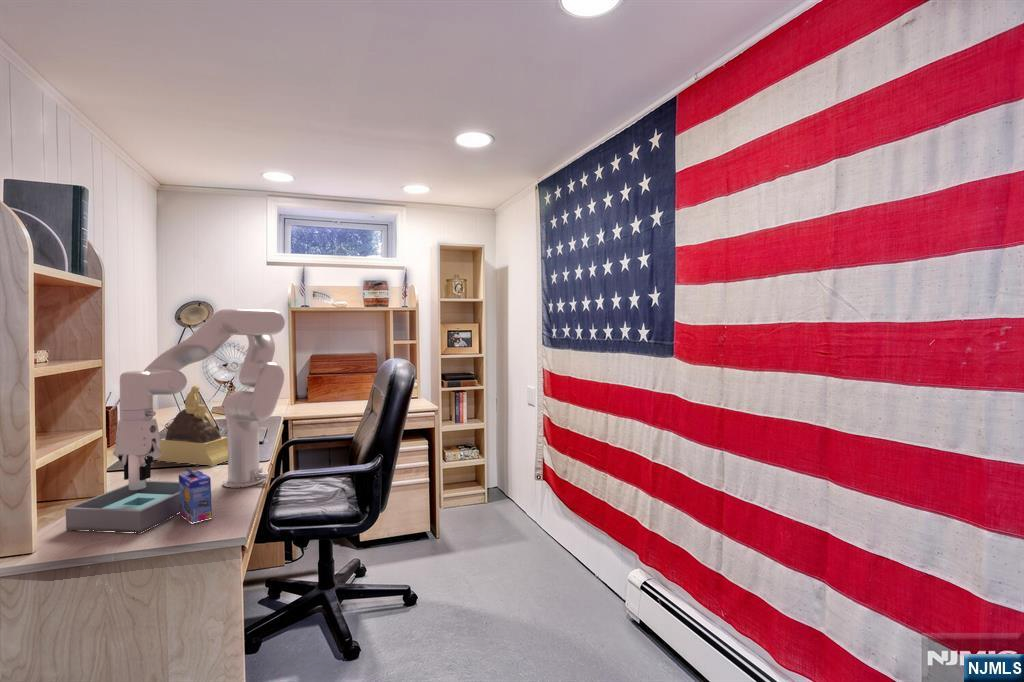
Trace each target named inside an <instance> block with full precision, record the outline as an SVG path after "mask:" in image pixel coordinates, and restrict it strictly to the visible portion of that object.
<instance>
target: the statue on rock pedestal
mask: <svg viewBox="0 0 1024 682" xmlns="http://www.w3.org/2000/svg"><path fill="white" fill-rule="evenodd" d="M199 391H200V387H199V386H198V385H193V386H191V389H190V391H189V392H188V394H187V395H186V397H185V400H184V401H185V402H184V409H182V410H180V411H179V412H178V413H177V414H176V416H175V417H174V419H173V420H172V422H171V423H170V424H169V426H168V427H167V430H166V435H165V438H162V439H161V438H160V451H161V453H162V455H161V456H159V457H158V458H156V459H155V460H160V461H170V462H182V463H196V464H202V465H210V466H214V465H217V464H219V463H222V462H225V461H228V436H221V433H220V431H219V430H218V429H217V428H216V427H215V425H214V424H213V423H214V422H213V419H212V417H211V415H210V414H209V413H207V412H206V411H207V406H206V405H205V404H200V401H201V400H200V395H199V394H198V393H199ZM160 461H159V462H160ZM170 462H169V463H170ZM225 463H226V462H225ZM217 466H218V465H217ZM214 467H215V466H214Z"/></svg>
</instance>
